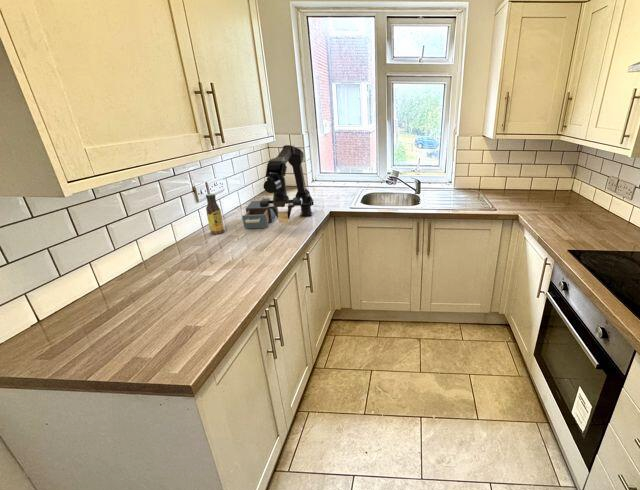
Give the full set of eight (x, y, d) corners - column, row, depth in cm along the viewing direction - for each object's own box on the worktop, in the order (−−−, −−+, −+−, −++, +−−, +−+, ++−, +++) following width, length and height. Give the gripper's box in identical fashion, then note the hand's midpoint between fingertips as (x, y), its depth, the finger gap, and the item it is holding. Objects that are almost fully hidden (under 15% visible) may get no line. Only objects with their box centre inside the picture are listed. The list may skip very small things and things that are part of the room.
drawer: (265, 230, 161) (263, 218, 159) (241, 231, 159) (239, 219, 156) (271, 218, 178) (270, 207, 175) (250, 219, 176) (248, 208, 173)
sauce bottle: (218, 235, 157) (210, 196, 149) (207, 234, 158) (198, 195, 150) (227, 230, 163) (220, 193, 155) (217, 229, 164) (209, 192, 156)
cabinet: (272, 222, 175) (270, 207, 172) (248, 223, 173) (245, 208, 170) (276, 213, 189) (274, 200, 185) (254, 214, 186) (251, 201, 183)
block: (280, 219, 156) (279, 211, 154) (289, 219, 156) (288, 210, 155) (278, 222, 152) (277, 214, 150) (288, 222, 152) (287, 213, 151)
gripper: (254, 192, 139) (260, 225, 145) (298, 191, 142) (302, 223, 148) (259, 186, 149) (264, 217, 155) (300, 185, 152) (304, 216, 158)
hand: (283, 219), depth 154 cm, fingers closed on block, 4 cm apart
